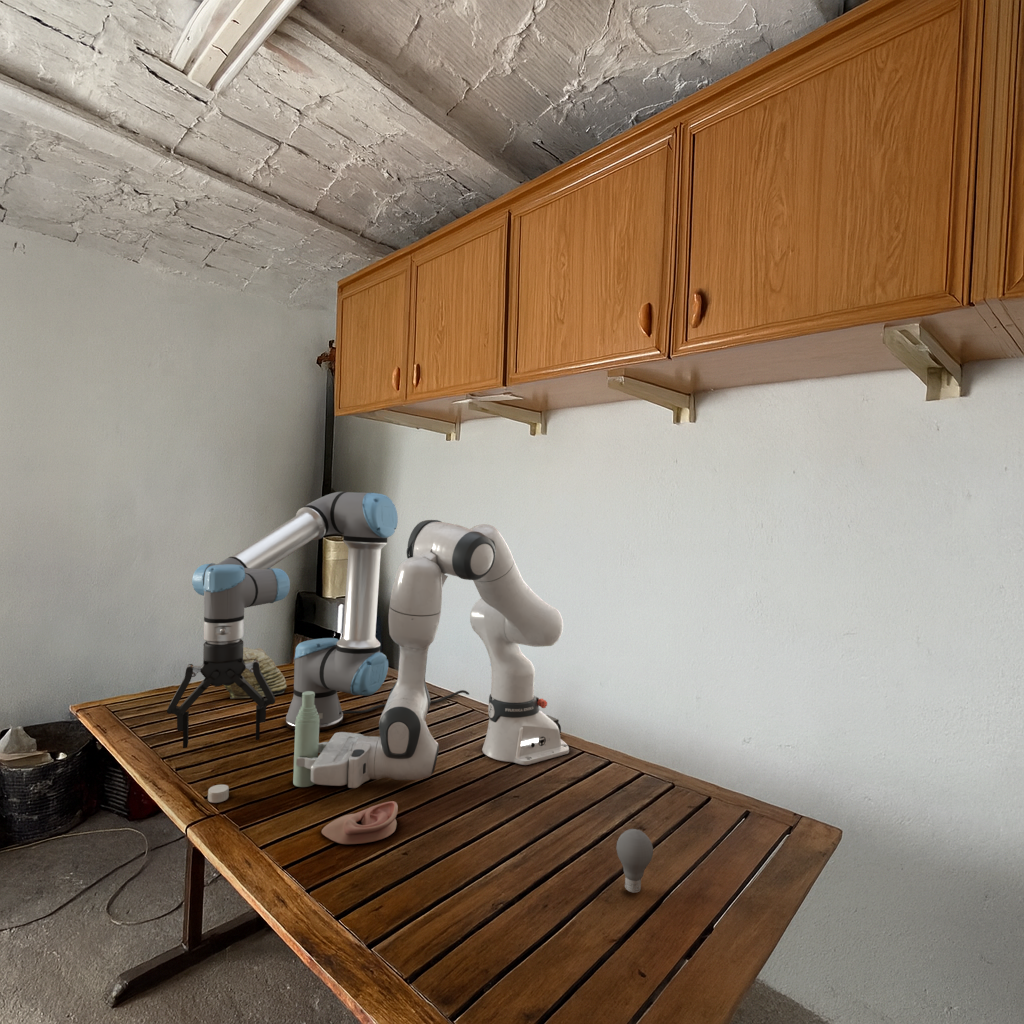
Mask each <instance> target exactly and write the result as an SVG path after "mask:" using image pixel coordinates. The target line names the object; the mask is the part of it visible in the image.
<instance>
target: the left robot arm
mask: <svg viewBox="0 0 1024 1024" xmlns="http://www.w3.org/2000/svg"><path fill="white" fill-rule="evenodd" d="M396 507H397V506H396V504H395V503H394V502H393V500H392V499H391V498H390V497H389V496H388V495H385V494H383V493H377V492H355V491H354V492H352V491H336V492H335V491H334V492H332V493H329V494H325V495H324V496H321V497H319V498H317V499H314V500H313V501H311V502H309V503H307V504H306V505H304V506H302V507H301V508H299V509H298V510H297V511H296V514H295V516H293V517H292V518H290V519H289V520H287V521H285V522H284V523H282V524H281V525H279V526H277V527H276V528H274V529H273V530H272V529H271V531H269V532H267V533H266V534H264V535H262V536H261V537H259V538H257V539H256V540H255V541H253V542H251V543H249V544H248V545H247V546H245V547H243V548H242V549H240V550H238V551H237V552H235V553H233V554H232V555H230V556H229V557H227V558H225V559H224V560H222V561H220V562H218V563H213V562H212V563H204V564H201V565H199V566H198V567H197V568H196V569H195V570H194V572H193V574H192V579H191V584H192V588H193V590H194V591H195V592H196V594H198V595H200V596H203V640H204V643H203V651H202V652H203V653H202V654H203V655H202V656H203V657H202V658H203V659H202V664H201V665H194V664H193V663H189V664H187V666H186V668H185V674H184V677H183V679H182V681H181V683H180V685H179V686H178V688H177V690H176V692H175V694H174V696H173V698H172V700H171V701H170V703H169V705H168V707H167V710H166V713H167V714H168V715H171V714H172V715H175V716H176V731H177V732H182V749H188V746H189V734H190V733H189V732H190V731H189V724H190V723H189V722H190V721H189V720H190V711H188V710H189V709H190V708H191V707H192V706H193V704H195V702H196V701H197V700H198V699H199V698H200V697H201V695H202V694H203V693H204V692H205V691H207V689H209V687H210V686H214V687H215V688H217V687H221V686H224V685H226V686H230V685H231V684H234V683H236V684H237V685H238V686H239V687H241V688H242V689H243V690H244V691H245V692H246V693H247V694H248V695H249V696H250V697H251V698H250V699H251V700H252V701H253V702H255V704H256V705H255V741H259V740H261V737H260V736H261V733H260V731H261V723H266V720H267V707H269V706H270V705H274V704H276V696H275V695H274V694H273V693H272V691H271V689H270V687H269V685H268V684H267V682H266V680H265V678H264V676H263V674H262V673H261V671H260V667H259V661H258V660H254V661H253V662H248V663H245V662H244V660H243V647H244V640H243V638H244V636H245V635H244V634H245V633H244V632H245V625H244V624H245V609H246V608H251V607H256V606H261V605H268V604H274V603H276V602H279V601H283V600H284V599H285V598H286V597H287V596H288V594H289V592H290V589H291V581H290V577H289V575H288V574H287V572H286V571H285V570H283V569H281V568H279V567H278V568H276V567H275V568H272V567H274V566H276V565H277V564H278V563H280V562H281V561H282V560H284V559H286V558H287V557H289V556H290V555H292V554H293V553H295V552H296V551H298V550H299V549H301V548H302V547H303V546H305V545H306V544H309V542H311V541H312V540H314V541H318V540H321V539H323V538H324V537H325V536H328V535H335V534H339V535H340V534H341V535H343V540H342V542H343V543H344V545H346V546H347V549H348V550H347V566H346V569H347V570H346V583H345V597H344V613H343V627H342V637H341V638H340V639H339V638H335V637H322V638H313V639H308V640H304V641H302V642H299V643H298V644H297V645H296V647H295V652H294V653H295V654H294V657H293V662H294V663H293V665H294V666H293V695H292V696H293V697H292V699H291V702H290V704H289V708H288V711H287V713H286V715H285V726H286V728H287V729H289V730H291V731H295V721H296V717H297V716H298V713H299V710H300V709H301V706H302V693H303V692H306V691H313V692H315V697H314V705H315V708H316V709H317V712H318V715H319V719H320V721H319V732H325V731H329V730H332V729H335V728H337V727H339V726H340V725H342V723H343V722H344V715H352V714H353V715H355V714H365V713H369V712H372V711H374V710H376V709H380V708H385V705H386V703H382V704H377V705H374V706H373V707H370V708H367V709H362V710H343V709H342V706H341V702H340V699H339V695H338V692H341V693H345V694H349V695H353V696H362V697H369V696H372V695H374V694H375V693H376V692H377V691H379V690H380V688H381V687H382V685H383V684H384V682H385V681H386V679H387V678H386V677H387V676H388V671H389V659H387V655H386V654H384V652H381V642H380V641H379V640H378V638H377V637H376V635H377V633H376V631H377V617H378V600H379V588H380V587H379V586H380V570H381V555H382V549H383V548H384V547H385V546H386V545H387V544H388V538H390V537H392V536H393V535H394V533H395V532H396V530H397V529H398V528H397V527H398V522H399V521H398V520H399V519H398V518H399V517H398V511H397V508H396ZM245 669H249V671H250V672H251V673H253V672H254V676H255V678H256V680H257V682H258V683H259V685H260V687H261V689H262V691H263V692H264V694H265V698H264V697H262V696H261V695H260V694H259V693H258V692H257V691H256V690H255V689H254V688H253V687H252V686H251V685H250V684H249V683H248V682H247V681H246V680H245V678H244V677H243V676H242V675H241V674H242V673H243V672H244V670H245ZM199 673H200V674H201V675H202V676H203V680H202V681H201V682H200V683H199V684H198V685H197V687H196V688H195V689H194V690H193V691H192V692H191V693H190V695H189V696H188V697H187V698H186V699H185V700H184V701H183V703H181V704H180V705H179V702H180V701H181V699H182V697H183V695H184V694H185V691H186V690H187V688H188V686H189V685H190V683H191V681H192V678H195V677H197V674H199ZM463 693H464V694H466V695H467V696H468V695H470V692H469V691H467V690H464V689H462V690H461V689H460V690H458V691H455V692H453V693H451V694H448V695H445V696H443V697H440V698H438V699H433V700H430V705H431V704H436V703H439V702H442V701H444V700H447V699H449V698H452V697H455V696H457V695H459V694H463Z"/></svg>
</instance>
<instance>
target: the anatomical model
mask: <svg viewBox="0 0 1024 1024" xmlns="http://www.w3.org/2000/svg"><path fill="white" fill-rule="evenodd" d="M398 809H399V806H398V803H397V802H396V801H393V800H392V801H391V800H390V801H385V802H381V803H378V804H376V805H372V806H370V807H368V808H365V809H363V810H360V811H358V812H355V813H350V814H344V815H342V816H340V817H338V818H336V819H334V820H332V821H331V822H329V823H327V824H326V825H325V826H323V828H322V829H321V834H322V835H323V836H324V837H325V838H327V839H328V840H331V841H333V842H335V843H337V844H341V845H357V844H358V845H359V844H367V843H372V842H377V841H380V840H384V839H385V838H388V837H389V836H391V835H392V834H393V833H395V831H396V829H397V826H398V823H397V820H396V819H397V815H398V812H399V811H398Z"/></svg>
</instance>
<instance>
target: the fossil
mask: <svg viewBox="0 0 1024 1024" xmlns="http://www.w3.org/2000/svg"><path fill="white" fill-rule="evenodd" d="M243 660H244V662H245V663H248V662H253V661H254V660H258V661H259V667H260V671H261V673H262V674H263V676H264V678H265V680H266V682H267V684H268V685H269V687H270V689H271V691H272V693H273V694H274V696H275V695H281V694H284V693H285V691H286V689H287V687H288V686H287V680H286V678H285V676H284V674H283V673H282V672H281V669H279V668H278V667H277V665H276V663H275V662H274V660H273V659H272V658H271V657H270V656H269V655H268V654H267V653H266V652H265V650H264V649H263V648H260V647H258V648H251V647H247V646H246V647H245V646H243ZM241 675H242V676H243V677H244V678H245V680H246V681H247V682H248V683H249V684H250V685H251V686H252V687H253V688H254V689H255V690H256V691H257V692H258V693H259V694H260V695H261V696H262V697H263V698H264V697H265V698H266V696H265V694H264V692H263V691H262V689H261V687H260V685H259V683H258V682H257V680H256V678H255V676H254V672H253V673H251V672H250V671H249V669H245V670H244V672H243V673H242V674H241ZM223 687H224V688H225V690H226V691H228V693H229V698H230V699H252V698H251V697H250V696H249V695H248V694H247V693H246V692H245V691H244V690H243V689H242V688H241V687H239V686H238V685H237V684H236V683H234V684H231V685H230V686H226V685H223Z"/></svg>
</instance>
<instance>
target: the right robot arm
mask: <svg viewBox="0 0 1024 1024" xmlns="http://www.w3.org/2000/svg"><path fill="white" fill-rule="evenodd" d="M448 575H449V576H453V577H458V578H459V579H462V580H464V581H465V580H466V581H473V583H474V586H475V587H476V590H477V592H478V594H479V597H480V598H479V599H478V600H476V601H475V602H474V604H473V605H472V608H471V610H470V614H469V623H470V626H471V628H472V631H473V632H474V633H476V635H477V636H478V637H479V638H480V640H481V641H482V644H484V647H485V649H486V652H487V654H488V658H489V662H490V675H491V676H490V679H491V681H490V685H491V686H490V694H489V696H488V708H487V711H488V714H487V715H488V722H487V730H486V734H485V738H484V741H483V745H482V748H481V751H482V753H483V754H484V755H485V756H487V757H489V758H491V759H493V760H497V761H501V762H509V763H515V764H518V765H522V766H528V765H532V764H536V763H539V762H540V763H541V762H544V761H547V760H550V759H553V758H557V757H561V756H564V755H568V754H569V753H570V748H569V745H568V744H567V743H566V742H565V741H564V740H563V739H562V738H561V736H562V727H561V724H560V723H559V718H556V717H553V716H551V715H549V714H546V713H544V712H543V711H541V709H540V708H542V709H546V708H547V707H548V701H547V700H545V699H544V698H539V697H538V696H537V695H535V681H536V680H535V679H536V669H535V666H534V664H533V661H531V660H530V659H529V658H528V657H527V656H525V654H524V653H523V652H522V650H521V647H520V645H522V646H526V647H527V646H529V647H534V648H537V647H538V648H539V647H540V648H543V647H552V646H554V645H555V644H556V643H558V641H559V640H560V638H561V637H562V634H563V631H564V620H563V616H562V614H561V612H560V610H559V609H558V608H556V607H555V606H552V605H551V604H549V603H547V602H546V601H545V600H544V599H542V598H541V596H539V595H538V594H537V593H536V592H534V590H533V589H532V588H531V587H530V586H529V585H528V584H527V582H526V581H525V580H524V578H523V576H522V574H521V572H520V569H519V567H518V565H517V562H516V560H515V559H514V556H513V553H512V551H511V549H510V547H509V545H508V544H507V542H506V540H505V538H504V537H503V535H502V533H500V531H499V530H498V529H497V528H496V527H495V526H493V525H490V524H488V523H487V524H485V523H482V524H477V525H474V526H472V527H471V528H468V527H466V526H462V525H460V524H457V523H456V524H454V523H450V522H445V521H444V522H443V521H441V520H438V519H426V520H422V521H419V522H418V523H417V524H416V525H415V526H414V527H413V529H412V530H411V533H410V535H409V538H408V541H407V548H406V559H404V560H403V561H402V562H401V563H400V564H399V565H398V568H397V570H396V573H395V577H394V580H393V584H392V588H391V593H390V600H389V606H388V632H389V636H390V638H391V639H392V641H393V642H394V643H395V644H396V645H398V646H399V663H398V672H397V679H396V681H395V683H394V685H393V686H392V687H391V690H390V692H389V693H388V697H387V700H386V703H385V704H386V705H385V707H383V710H382V712H381V715H380V717H379V720H378V731H379V732H378V733H379V736H370V735H364V734H363V733H362V734H361V733H358V732H348V731H347V732H346V731H339V732H338V731H337V732H335V733H334V734H333V735H332V736H331V738H330V739H329V741H323V742H319V747H318V758H313V759H311V758H307V756H299V757H298V759H297V763H296V765H297V766H299V767H306V768H308V769H310V770H311V782H313V783H315V784H314V785H320V786H331V787H333V786H334V787H342V786H345V785H347V788H349V789H356V788H359V787H360V786H361V785H362V784H364V783H366V782H368V781H370V780H380V779H385V778H386V779H391V780H395V781H418V780H426V779H428V778H430V777H431V776H432V775H433V774H434V773H435V769H436V766H437V761H438V757H439V753H440V752H439V751H440V745H439V742H437V741H436V739H435V738H434V736H433V735H432V733H431V731H430V730H429V727H428V725H427V721H426V718H427V715H428V713H429V711H430V708H431V704H430V701H431V695H430V692H429V689H428V686H427V682H426V671H427V663H428V653H429V649H430V647H431V645H432V643H433V642H434V641H435V639H436V635H437V632H438V629H439V625H440V620H441V615H442V605H443V587H444V585H445V582H446V580H447V578H448V577H449V576H448ZM560 733H561V734H560Z"/></svg>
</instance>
